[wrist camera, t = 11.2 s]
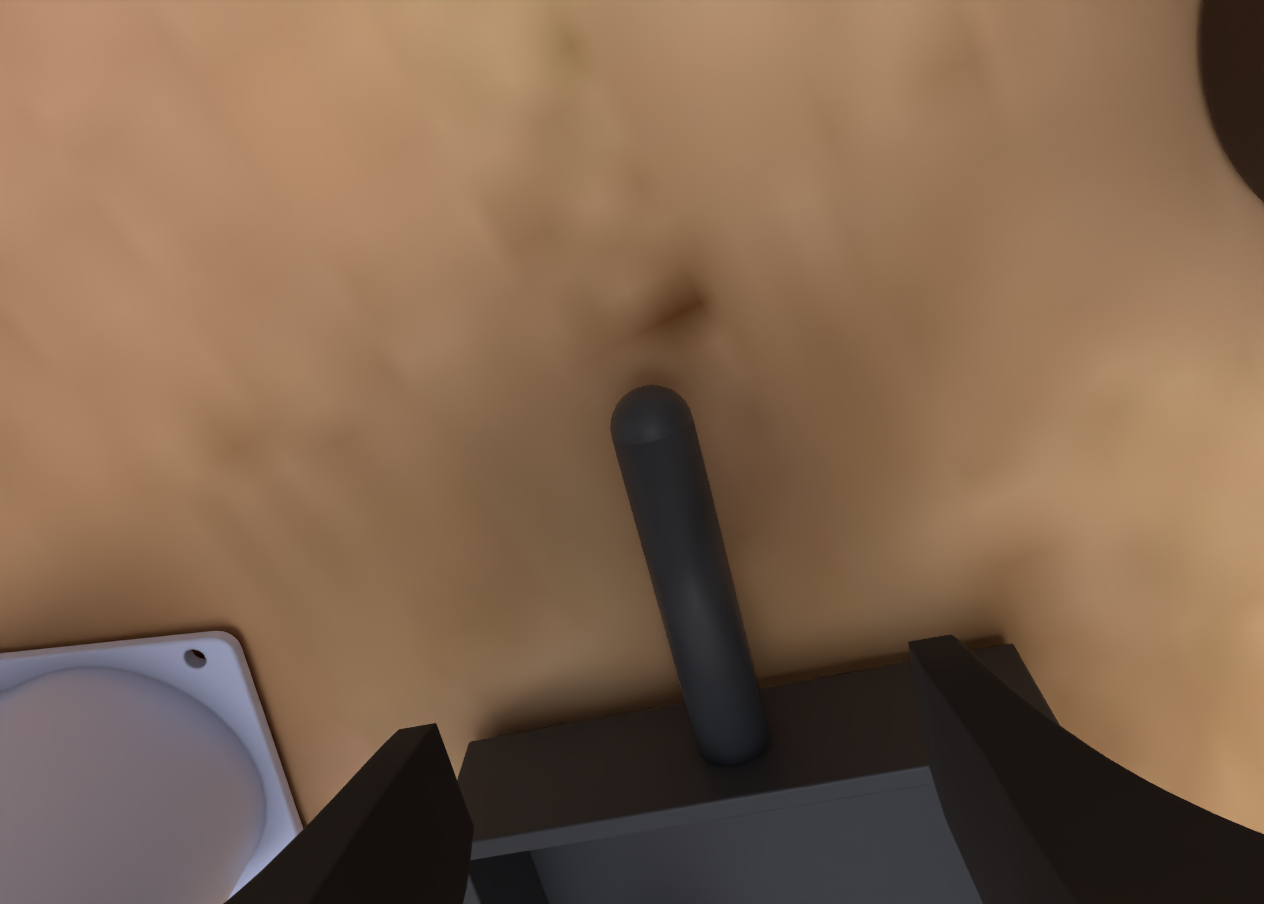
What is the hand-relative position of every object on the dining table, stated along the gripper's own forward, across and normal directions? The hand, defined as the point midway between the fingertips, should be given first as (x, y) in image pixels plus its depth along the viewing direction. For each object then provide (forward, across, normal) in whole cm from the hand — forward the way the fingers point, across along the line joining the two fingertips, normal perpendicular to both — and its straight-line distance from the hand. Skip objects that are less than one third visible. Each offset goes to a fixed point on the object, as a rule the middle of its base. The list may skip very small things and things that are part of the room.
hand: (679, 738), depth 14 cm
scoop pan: (+8, 0, +6) cm, 10 cm away
